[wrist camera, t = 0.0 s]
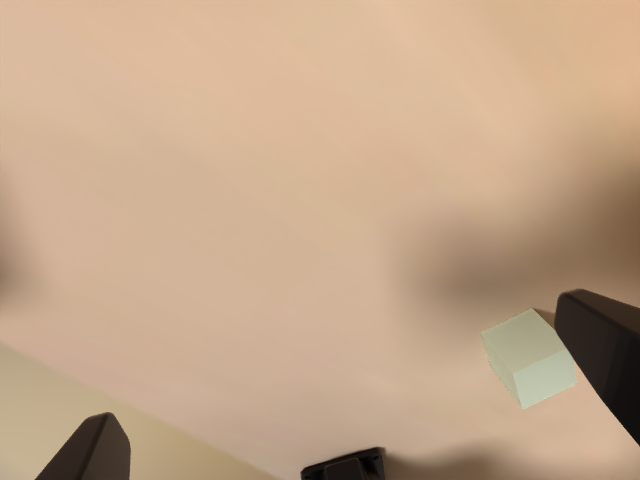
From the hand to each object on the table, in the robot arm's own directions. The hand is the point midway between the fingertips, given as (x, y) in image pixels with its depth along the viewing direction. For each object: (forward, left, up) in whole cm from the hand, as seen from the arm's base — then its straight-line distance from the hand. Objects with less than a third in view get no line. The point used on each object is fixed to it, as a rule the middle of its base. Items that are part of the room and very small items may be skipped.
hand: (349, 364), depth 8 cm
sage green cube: (-17, -14, -15) cm, 27 cm away
